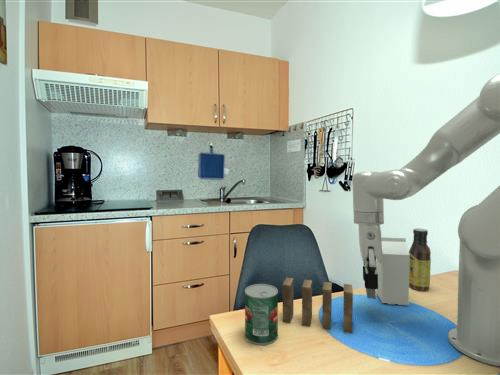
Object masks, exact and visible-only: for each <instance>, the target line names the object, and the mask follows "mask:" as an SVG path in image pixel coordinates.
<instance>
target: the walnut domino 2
mask: <svg viewBox="0 0 500 375" xmlns="http://www.w3.org/2000/svg"><path fill="white" fill-rule="evenodd" d="M301 296H302V297H301V326H304V327H311V325H312V324H311V323H312V320H313V280H312V279H304V280H303V283H302V286H301Z"/></svg>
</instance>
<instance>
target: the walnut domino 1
mask: <svg viewBox="0 0 500 375" xmlns="http://www.w3.org/2000/svg"><path fill="white" fill-rule="evenodd" d="M293 317H294V277H293V278H292V277H286V278H284V281H283V283H282V323H284V324H291V323H292V320H293Z"/></svg>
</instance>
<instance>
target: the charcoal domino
mask: <svg viewBox="0 0 500 375" xmlns="http://www.w3.org/2000/svg"><path fill="white" fill-rule="evenodd" d="M367 261H369V259H367ZM367 265H369V264H367ZM365 292H366V297H367V299H371V300H376V299H377V298H376V295H377V293H376V289H367V288H365Z"/></svg>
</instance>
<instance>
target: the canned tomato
mask: <svg viewBox="0 0 500 375" xmlns="http://www.w3.org/2000/svg"><path fill="white" fill-rule="evenodd" d="M278 294H279V290H278V288H277V287H276V286H274V285H271V284H268V283H255V284H252V285H249V286H246V287H245V289H244V330H245V331H244V335H245V336H244V337H245V340H246V341H247V342H249V343H251V344H253V345H258V346H259V345H260V346H266V345H271V344H273V343H274V342H276V341H277V339H278V337H279V332H278V330H279V323H278V322H279V320H278V319H279V308H278V304H279V297H278V296H279V295H278Z"/></svg>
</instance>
